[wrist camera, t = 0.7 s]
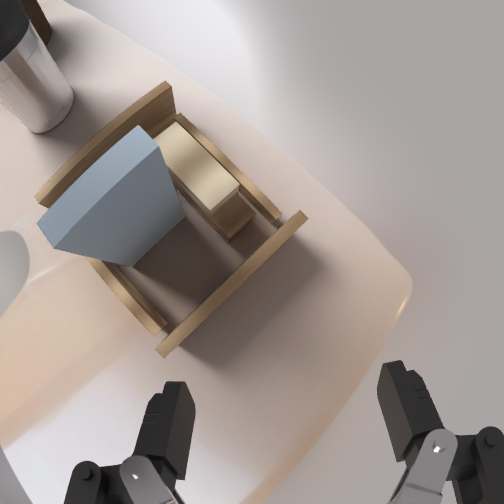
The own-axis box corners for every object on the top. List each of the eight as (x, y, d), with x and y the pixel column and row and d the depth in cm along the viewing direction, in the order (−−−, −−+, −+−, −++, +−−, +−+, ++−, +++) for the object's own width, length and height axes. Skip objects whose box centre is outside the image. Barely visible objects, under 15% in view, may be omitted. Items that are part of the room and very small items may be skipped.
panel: (121, 253, 36) (36, 223, 16) (173, 203, 37) (138, 124, 17) (132, 267, 36) (53, 248, 16) (185, 216, 37) (159, 145, 17)
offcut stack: (153, 164, 37) (141, 138, 30) (176, 144, 38) (170, 116, 30) (227, 242, 37) (231, 232, 30) (251, 220, 38) (260, 205, 31)
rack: (63, 211, 35) (34, 196, 27) (171, 114, 38) (165, 80, 30) (174, 342, 35) (164, 358, 27) (289, 231, 38) (308, 218, 31)
